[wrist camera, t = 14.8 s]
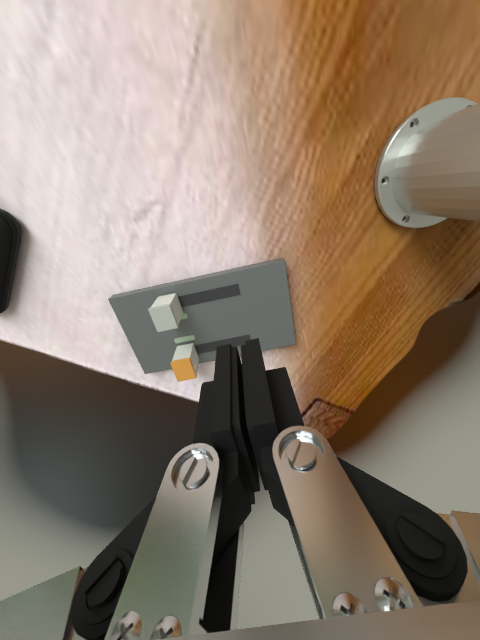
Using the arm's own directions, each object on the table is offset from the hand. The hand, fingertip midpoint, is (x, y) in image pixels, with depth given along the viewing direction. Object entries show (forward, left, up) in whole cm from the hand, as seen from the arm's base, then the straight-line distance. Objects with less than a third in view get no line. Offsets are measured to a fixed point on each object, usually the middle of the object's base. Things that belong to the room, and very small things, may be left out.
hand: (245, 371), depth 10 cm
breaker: (+10, +5, -23) cm, 26 cm away
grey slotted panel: (+6, +9, -25) cm, 27 cm away
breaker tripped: (+10, +13, -23) cm, 28 cm away
